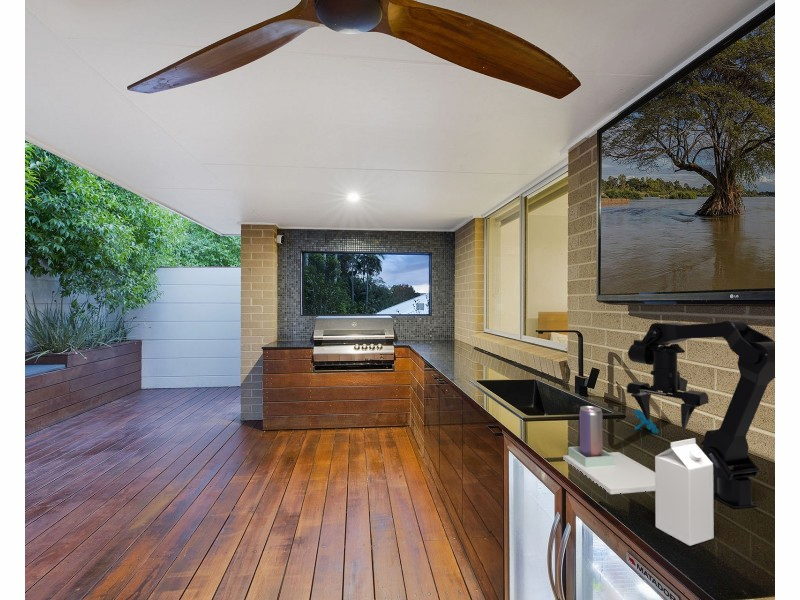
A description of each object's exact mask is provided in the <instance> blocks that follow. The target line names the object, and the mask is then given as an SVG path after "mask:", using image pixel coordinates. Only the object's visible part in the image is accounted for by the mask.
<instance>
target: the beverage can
mask: <svg viewBox="0 0 800 600" xmlns="http://www.w3.org/2000/svg"><path fill="white" fill-rule="evenodd" d="M579 408H580V409H579V446H580V454H582V455H583V456H585V457H600V456H603V450H604V449H603V448H604V447H603V411H602V410H603V409H602V408H600V407H597V406H592V405H591V406H590V405H581V406H580V407H579Z"/></svg>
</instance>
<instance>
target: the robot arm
mask: <svg viewBox="0 0 800 600" xmlns="http://www.w3.org/2000/svg"><path fill="white" fill-rule="evenodd" d="M705 338H723V339H724V340H725V342H727V345H728V347H729V349H730V350H731V351H732V352H733V353H734V354H735V355H737V356H738V359H737V367H738V370H739V374H740V375H739V379H738V382H737V384H736V386H735V390H734V391H733V394H732V397H731V399H730V402H729V404H728V406H727V409H726V412H725V415H724V417H723V420H722V421H721V423H720V424H721V425H720V426H719V428H718V429H711V430H706V431H705V433H704V438H703V441H702V442H701V443H700V445H701V446H702V449H701V450H702V451H703V453H704V454H705V455H706V456H707V457H708V458H709V459H710V461H711V462H712V463H713V499H716V500H717V501H719V502H721V503H723V504H725V505H726V506H728V507H730V508H733V509H741V508H743V509H744V508H751V507H753V508H754V507H755V508H756V507H758V503H756V502H754V501H752V479H750V478H753V477H755V478H756V477H758V474H759V472H760V468H759V467H758V466H757V465H756V463H755V462H754V461H753V459H751V457H750V456H749V455H748V454H749V444H748V440H747V434H748V432H749V429H750V427H751V425H752V422H753V420H754V418H755V415H756V413H757V411H758V409H759V406H760V403H761V401H762V399H763V397H764V395H765V393H766V389H767V387H768V385H769V384H770V383H771V382H772V381H773V380H774V379H776V377H775V342H776V341H775V340H774V339H772V338H771V337H770V336H768V335H766V334H764V333H762V332H761V331H759V330H756V329H754V328H752V327H751V326H749V324H747V323H745V322H744V321H741V320H723V321H721V322H720V321H719V322H718V321H717V322H705V323H694V324H693V323H691V324H685V323H681V322H680V323H679V322H654V323H652V324H651V325H650V326H649V328H648V331H647V332H646V334H644V336H643V339H634V340H633V344H632V345H631V346H630V347H629V349H628V351H627V356H628V358H629V360H630V362H633V363H636V364H638V363H639V364H643V365H648V366H649V365H650V366H652V370H650V375H651V376H652V385H650V383H649V382H643V381H639V380H638V381H632V382H628V384H627V385H626V393H627V394H630V395H631V397H633V398H634V399H635V401H636V403H637V404H638V405H639V407H640V411H641V412H642V414H644V416H645V418H646V419H647V420H649V419H650V418H651V407H650V398H651V397H652V396H651V395H657V396H662V397H668V398H674V399H681V400H682V402H683V403H681V404H680V417H681V419H680V423H681V428H682V429H686V428H687V425H688V423H689V421H690V418H691V416H692V413H693V412H694V410H695V409H696V408H699V407H702V406H704V405H706V404H709V395H708V393H706V392H705V391H699V390H693V389H690V390H687V386H688V380H687V379H685V378H683V377H681V373H680V371H678V354H684V353H686V350H685V349H684V348H682V347H681V346H680V345H679V343H680V342H681V343H682V342H685V341H688V340H691V339H705Z"/></svg>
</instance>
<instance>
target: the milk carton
mask: <svg viewBox="0 0 800 600" xmlns="http://www.w3.org/2000/svg"><path fill="white" fill-rule="evenodd" d="M696 442H697V441H696V437H694V438H688V439H682V440H678V441H677V440H676V441H672V442H670V448H668V449H666V450H664V451H663V452H660V453H659V454H656V455H655V456H654V458H655V459H654V467H655V470H654V472H655V491H654V492H655V493H654V494H655V496H654V497H655V498H654V499H655V503H654V504H655V506H654V508H655V528H657V529H659V530H660V531H662V532H664V533H665V534H667V535H669V536H672V537H673V538H675V539H676V540H678V541H680V542H682V543H684V544H685V545H687V546H689V547H690V546H693V545H697V544H700V543H703V542H706V541H709V540H713V539H714V538H715V537H714V536H715V535H714V532H715V531H714V529H715V528H714V527H715V526H714V521H715V519H714V518H715V517H714V498H713V493H714V475H713V463H712V462H711V461H710V459H709V458H708V457H707V456H706V455H705V454H704V453H703V451H702V449H701V448H700V446H699V445H698V444H697V443H696Z"/></svg>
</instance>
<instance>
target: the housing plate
mask: <svg viewBox="0 0 800 600" xmlns="http://www.w3.org/2000/svg"><path fill="white" fill-rule="evenodd" d="M567 451H568V453H567V454H568V455H562V457H563V458H562V459H563V461H564V460H565V462H566V463H567V462H568V463H567V464H569V465H570V464H571V465H572V466H571V465H570V466H571V467H573V466H574V467H575V468H576V469H575V468H574V467H573V468H574V469H575V470H577V469H578V470H579V471H578V470H577V471H578V472H580V471H581V472H582V473H583V474H582V473H581V472H580V473H581V474H582V475H584V476H585V475H586V476H587V477H586V476H585V477H586V478H588V479H589V478H590V479H591V480H590V479H589V480H590V481H592V482H593V481H594V483H595V484H596V483H597V484H598V485H597V484H596V485H597V486H599V487H600V486H601V487H602V489H603V488H604V489H605V490H606V492H607V493H608V494H609V495H618V494H619V495H620V493H621V494H631V493H645V491H646V492H655V470H654V471H653V470H652V469H651V468H648V467H647V466H644V465H643V464H641V463H639V462H637V461H635V460H634V459H632V458H630V457H628V456H626V455H625V454H623V453H622V452H620V451H613V452H608V451H606V450H604V449H603V456H600V457H585V456H583V455H582V454H580V445H579V446H568V449H567ZM601 487H600V488H601ZM604 489H603V490H604ZM605 490H604V491H605Z"/></svg>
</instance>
